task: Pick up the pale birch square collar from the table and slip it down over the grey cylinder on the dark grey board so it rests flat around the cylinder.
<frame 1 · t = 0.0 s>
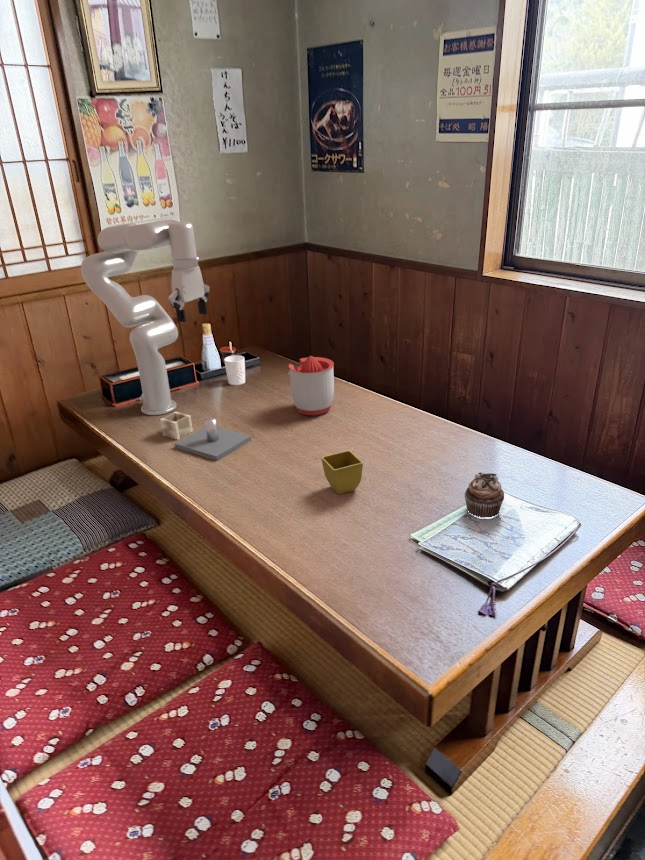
hand: (192, 317, 204), 37 cm above the table, tool pointing down, fingers open, 9 cm apart
citrus juicer: (311, 409, 225), on the table
cupcake: (483, 511, 161), on the table
grey cylinder: (212, 439, 202), resting on grey board
flower pot: (343, 489, 174), on the table
birch collar: (178, 433, 211), on the table
grey board: (213, 444, 203), on the table
white cup: (237, 382, 253), on the table
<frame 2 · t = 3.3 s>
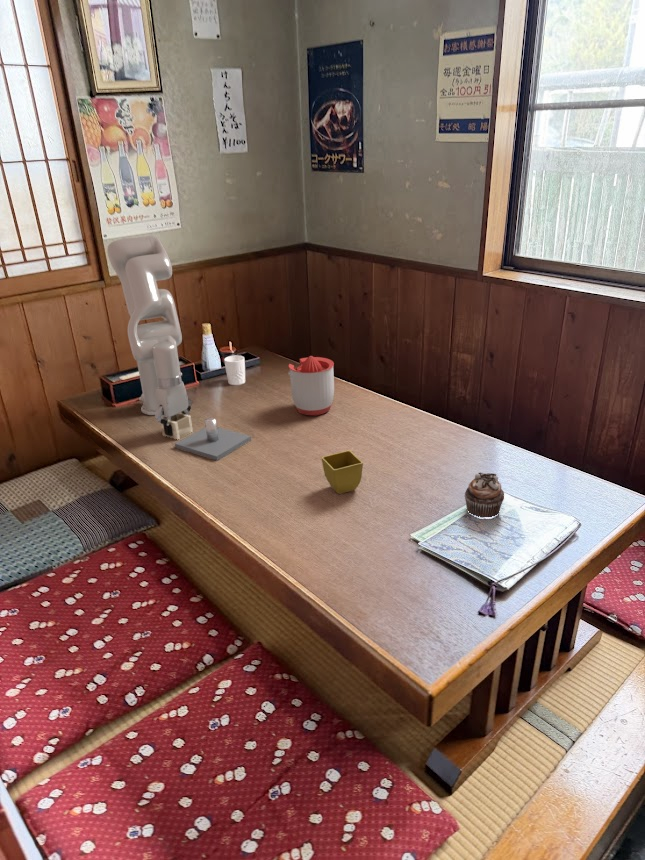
hand: (177, 430, 211), 1 cm above the table, tool pointing down, fingers closed on birch collar, 7 cm apart
birch collar: (178, 433, 211), on the table, touching gripper
everything else where it was.
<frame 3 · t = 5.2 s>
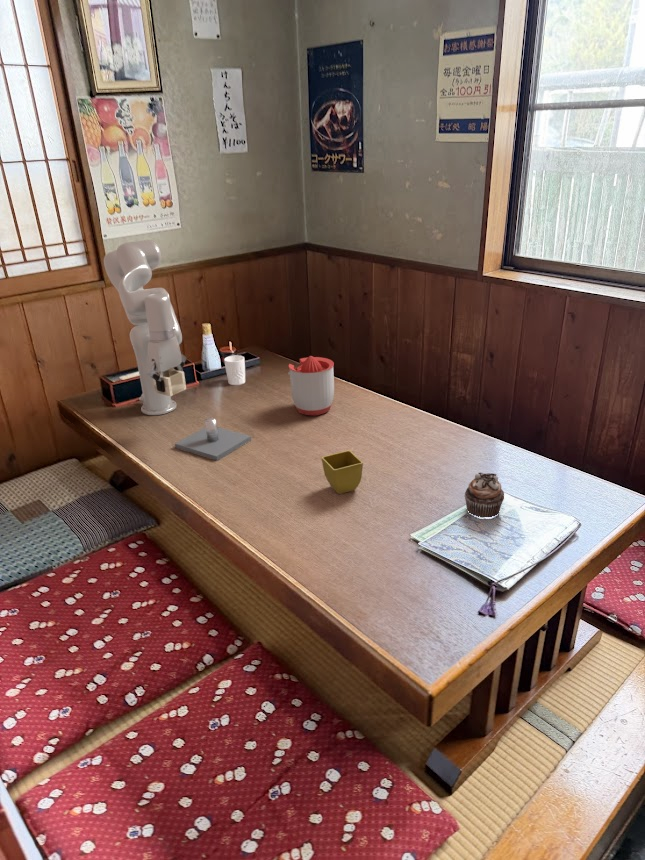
hand: (170, 386, 205), 17 cm above the table, tool pointing down, fingers closed on birch collar, 7 cm apart
birch collar: (170, 390, 205), point 15 cm above the table, touching gripper
everything else where it was.
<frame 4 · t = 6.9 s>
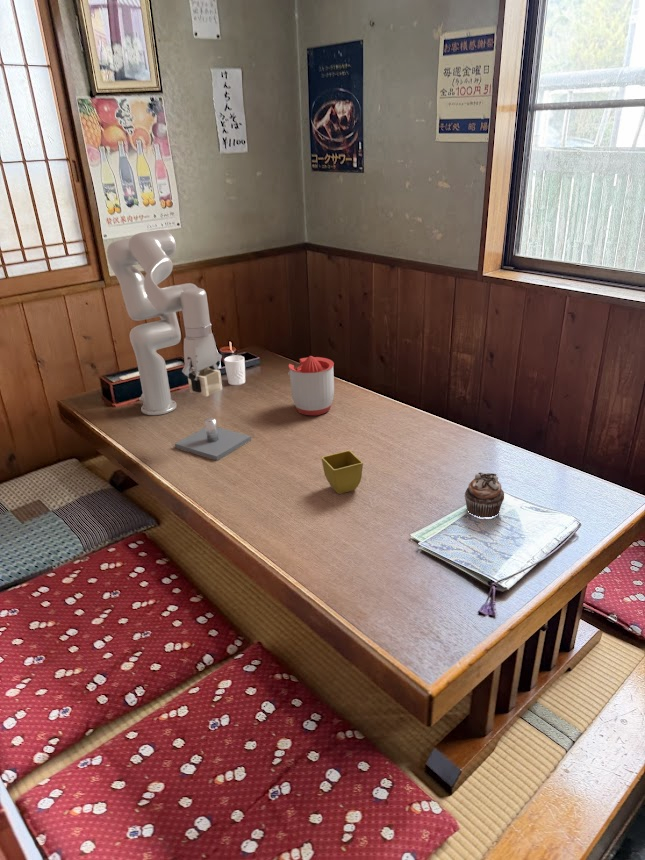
hand: (205, 386, 195), 20 cm above the table, tool pointing down, fingers closed on birch collar, 7 cm apart
birch collar: (206, 390, 195), point 18 cm above the table, touching gripper
everything else where it was.
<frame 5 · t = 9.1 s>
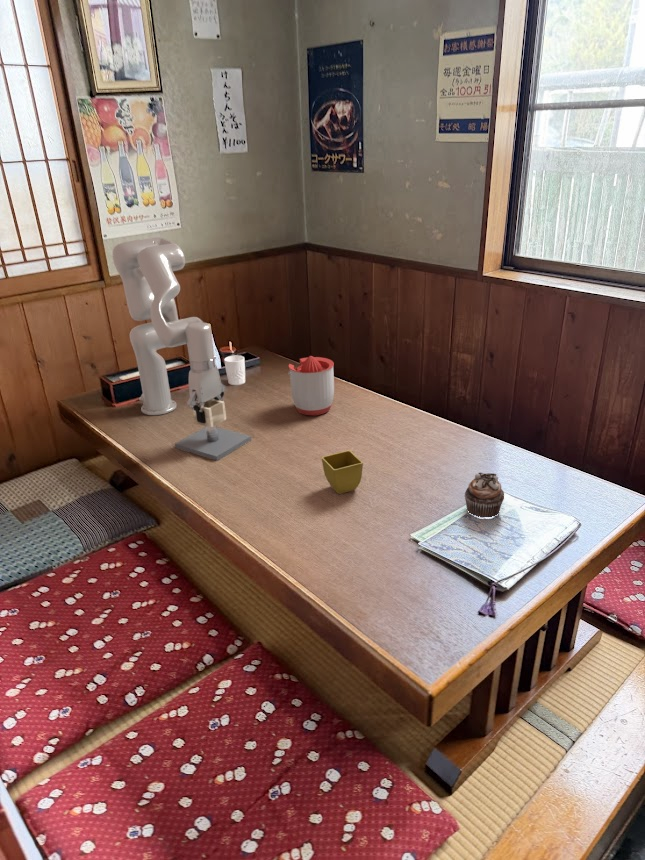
hand: (210, 417, 199), 9 cm above the table, tool pointing down, fingers closed on birch collar, 7 cm apart
birch collar: (210, 421, 199), point 8 cm above the table, touching gripper
everything else where it was.
when the fingers open (5 cm above the table, at t = 10.9 s): birch collar drops 2 cm, resting on grey board.
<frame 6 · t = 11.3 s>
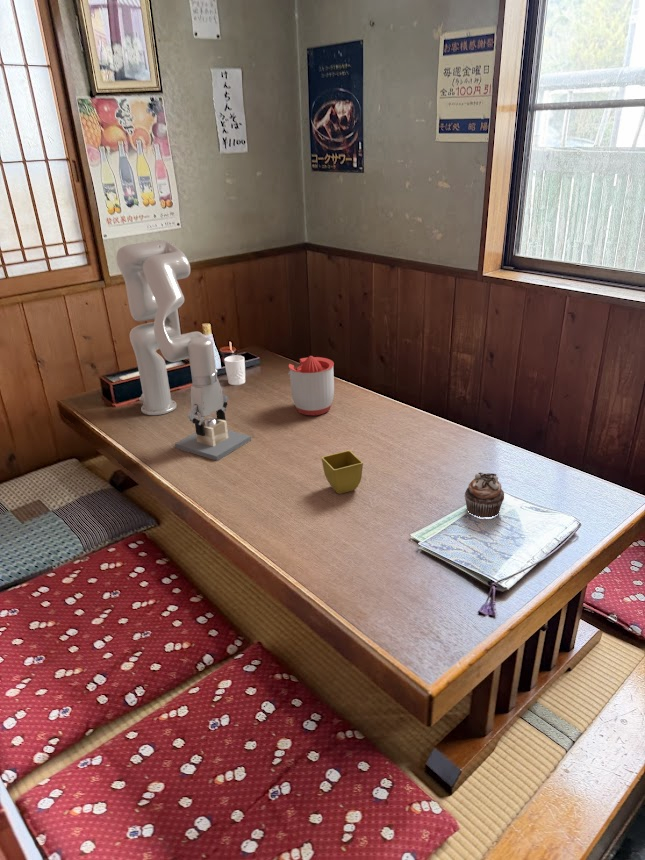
hand: (211, 429, 201), 5 cm above the table, tool pointing down, fingers open, 9 cm apart
birch collar: (212, 439, 202), point 1 cm above the table, touching grey board
everything else where it was.
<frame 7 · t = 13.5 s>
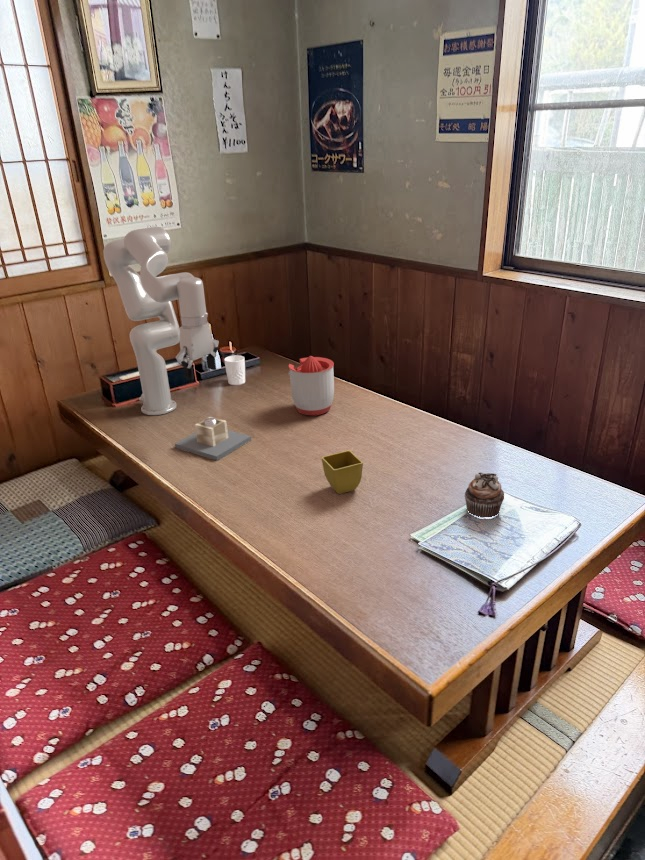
hand: (201, 374, 196), 23 cm above the table, tool pointing down, fingers open, 9 cm apart
nothing on the table moved.
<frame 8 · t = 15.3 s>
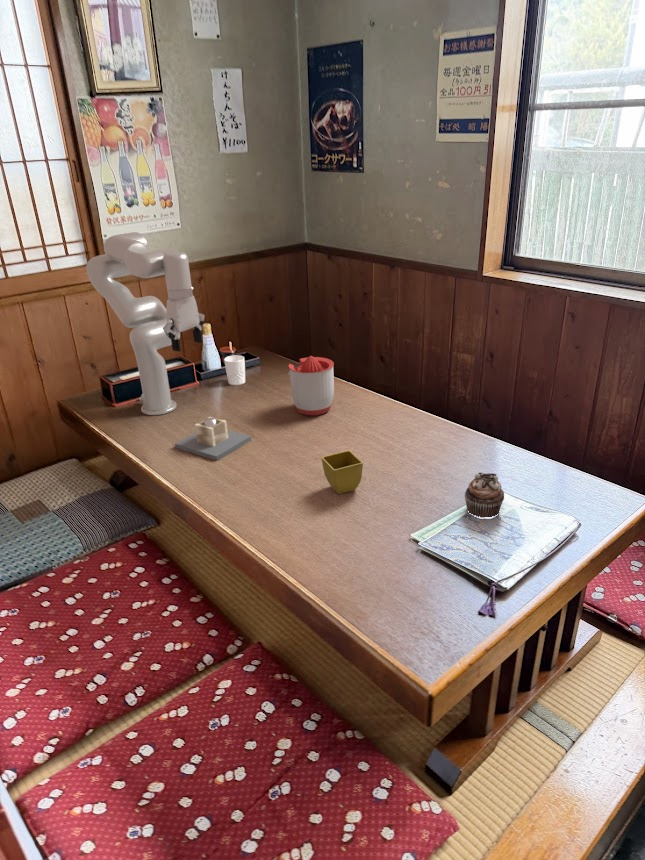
hand: (187, 346, 204), 28 cm above the table, tool pointing down, fingers open, 9 cm apart
nothing on the table moved.
at the end: birch collar 0.0 cm off-centre on the grey cylinder, point 0.0 cm above the grey cylinder's base; birch collar tilted 0°; the gripper is holding nothing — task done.
